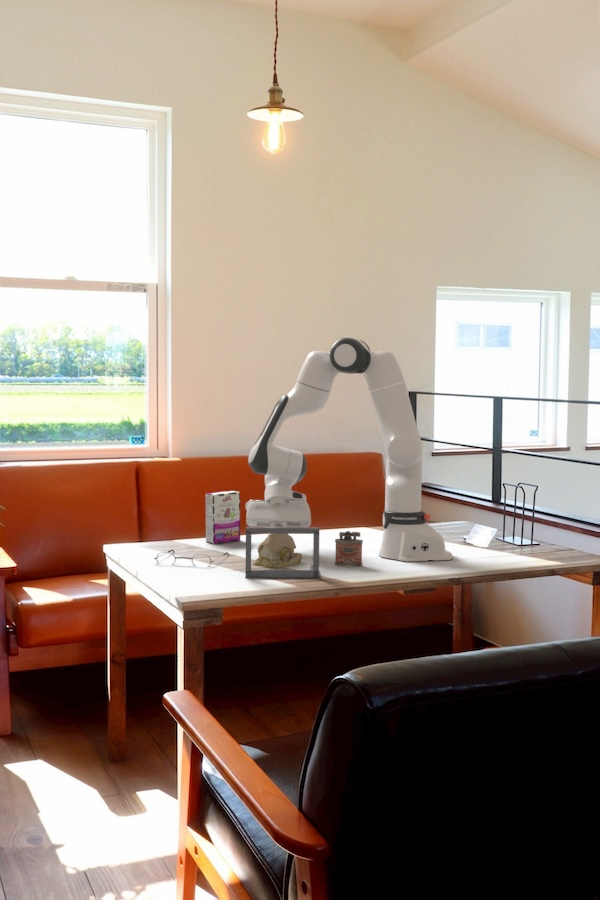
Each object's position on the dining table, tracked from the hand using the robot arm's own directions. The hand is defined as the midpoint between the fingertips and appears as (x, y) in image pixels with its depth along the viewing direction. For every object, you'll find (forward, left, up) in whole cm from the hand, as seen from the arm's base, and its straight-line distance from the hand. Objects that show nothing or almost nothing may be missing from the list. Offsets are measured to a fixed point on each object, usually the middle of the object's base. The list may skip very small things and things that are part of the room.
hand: (278, 536), depth 284 cm
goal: (0, +26, -6) cm, 27 cm away
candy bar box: (+18, -24, -6) cm, 30 cm away
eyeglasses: (+26, +6, -7) cm, 27 cm away
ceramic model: (+1, +12, -6) cm, 13 cm away
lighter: (-20, +14, -6) cm, 25 cm away
